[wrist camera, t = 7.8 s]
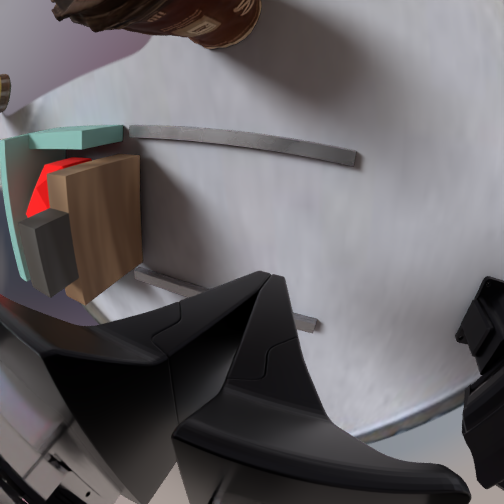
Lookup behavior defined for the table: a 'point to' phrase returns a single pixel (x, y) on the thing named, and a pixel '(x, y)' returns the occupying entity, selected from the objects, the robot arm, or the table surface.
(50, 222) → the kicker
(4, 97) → the sauce bottle
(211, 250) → the table surface
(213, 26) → the coffee cup
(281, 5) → the table surface
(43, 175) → the ball
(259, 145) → the track
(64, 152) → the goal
